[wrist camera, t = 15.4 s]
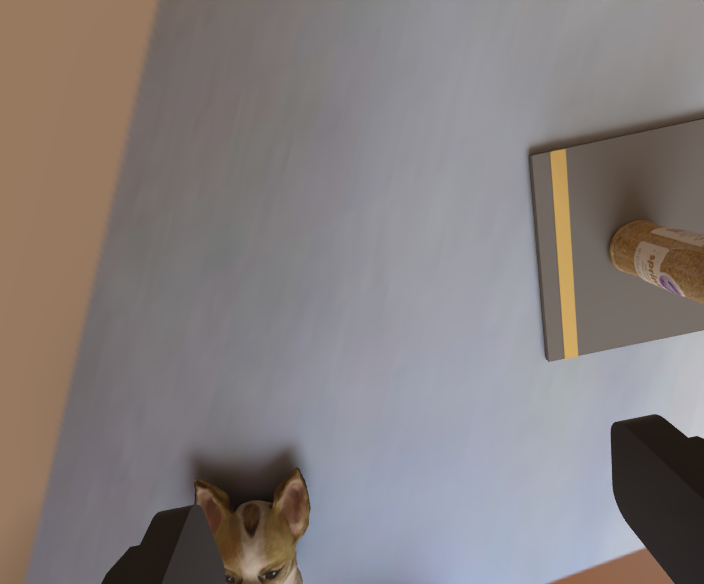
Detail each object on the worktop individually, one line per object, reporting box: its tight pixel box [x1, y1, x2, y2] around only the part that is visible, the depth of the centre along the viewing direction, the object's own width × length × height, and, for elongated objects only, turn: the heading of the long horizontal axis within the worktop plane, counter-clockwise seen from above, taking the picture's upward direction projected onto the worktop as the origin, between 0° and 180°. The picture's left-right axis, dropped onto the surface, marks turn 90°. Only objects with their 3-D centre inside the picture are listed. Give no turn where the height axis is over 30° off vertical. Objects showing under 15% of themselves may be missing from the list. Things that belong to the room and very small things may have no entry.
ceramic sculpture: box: [194, 468, 311, 584], centre depth 42 cm, size 11×9×15 cm
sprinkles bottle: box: [609, 220, 704, 304], centre depth 32 cm, size 5×5×14 cm
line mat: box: [529, 118, 704, 362], centre depth 39 cm, size 18×16×1 cm
